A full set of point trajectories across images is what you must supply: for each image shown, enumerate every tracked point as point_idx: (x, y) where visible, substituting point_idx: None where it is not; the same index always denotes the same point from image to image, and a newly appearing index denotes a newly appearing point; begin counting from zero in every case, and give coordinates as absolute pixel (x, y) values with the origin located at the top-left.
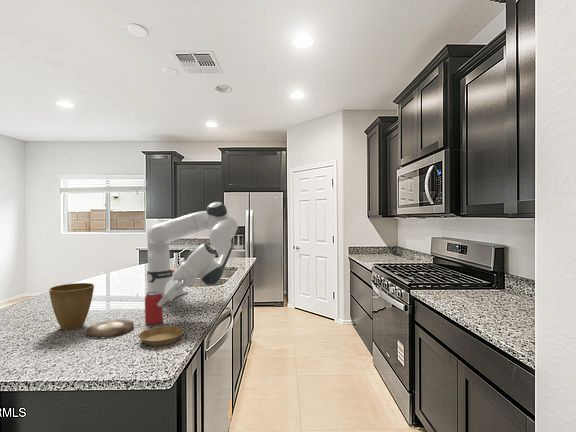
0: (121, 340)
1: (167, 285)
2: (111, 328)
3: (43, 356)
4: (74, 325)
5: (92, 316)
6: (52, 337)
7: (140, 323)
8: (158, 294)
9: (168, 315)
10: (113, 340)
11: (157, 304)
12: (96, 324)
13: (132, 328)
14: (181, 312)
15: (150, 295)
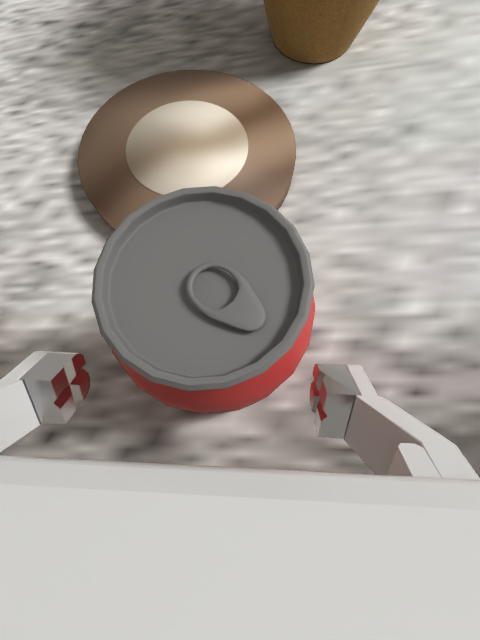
0: (9, 218)
1: (417, 592)
2: (142, 153)
3: (7, 26)
4: (270, 26)
5: (460, 73)
6: (201, 9)
7: None
8: (115, 350)
9: None
10: (32, 188)
11: (38, 355)
12: (249, 93)
13: None
14: None
15: (112, 241)
